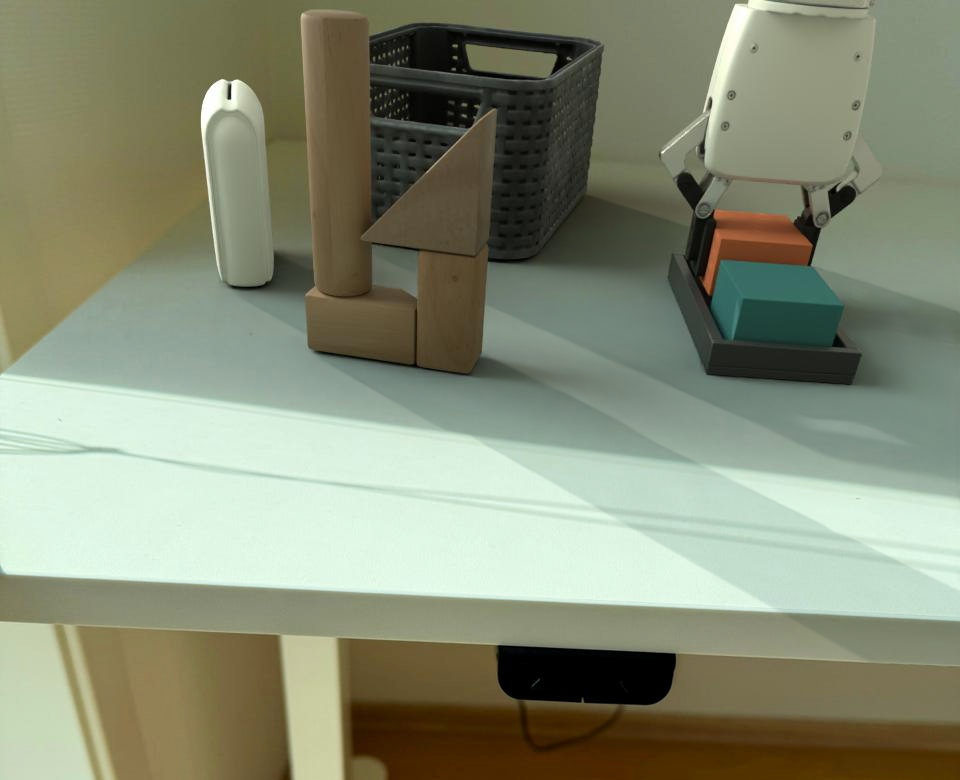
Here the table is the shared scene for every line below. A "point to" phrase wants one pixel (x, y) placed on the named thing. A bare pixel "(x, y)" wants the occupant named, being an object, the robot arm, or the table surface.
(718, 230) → the orange block
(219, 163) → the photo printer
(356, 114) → the wooden block
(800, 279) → the teal block
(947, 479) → the table surface
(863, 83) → the robot arm
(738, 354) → the frame
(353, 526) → the table surface
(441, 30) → the storage bin
